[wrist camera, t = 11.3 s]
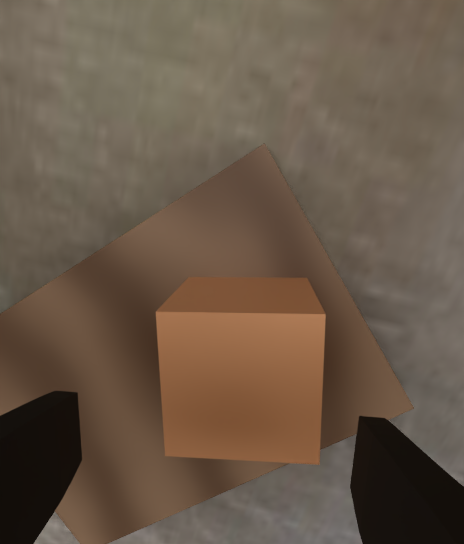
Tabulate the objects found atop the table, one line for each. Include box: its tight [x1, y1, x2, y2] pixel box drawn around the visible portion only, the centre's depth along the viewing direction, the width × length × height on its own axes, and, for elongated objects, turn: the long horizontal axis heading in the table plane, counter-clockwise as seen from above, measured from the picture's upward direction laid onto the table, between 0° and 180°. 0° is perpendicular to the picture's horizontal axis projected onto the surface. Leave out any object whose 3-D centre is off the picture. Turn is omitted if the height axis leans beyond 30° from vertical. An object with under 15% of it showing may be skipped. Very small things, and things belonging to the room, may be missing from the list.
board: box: [0, 143, 414, 544], centre depth 18 cm, size 20×14×2 cm
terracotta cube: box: [156, 277, 326, 465], centre depth 14 cm, size 5×5×5 cm
